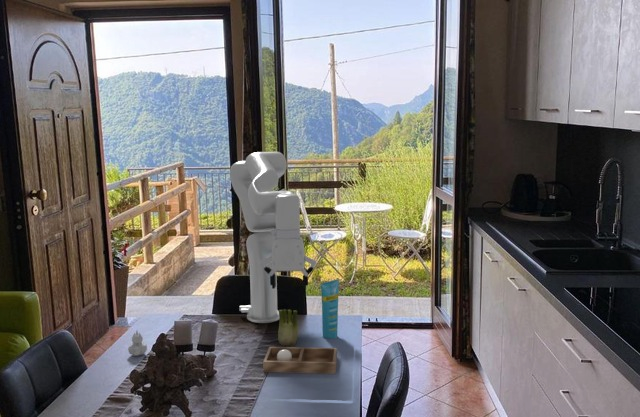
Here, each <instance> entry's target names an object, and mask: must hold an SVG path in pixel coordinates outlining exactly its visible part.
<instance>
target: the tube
mask: <svg viewBox="0 0 640 417" xmlns="http://www.w3.org/2000/svg"><path fill="white" fill-rule="evenodd" d="M339 287H340V278H337V279H333V280H331V281H326V282H321V283H320V290H321V315H322V317H321V320H322V321H321V322H322V325H321V326H322V338H323V339H331V340H333V339H334V340H335V339H337V338H338V325H339V322H338V317H339V290H340V289H339Z"/></svg>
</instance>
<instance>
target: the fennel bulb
mask: <svg viewBox="0 0 640 417" xmlns="http://www.w3.org/2000/svg"><path fill="white" fill-rule="evenodd" d="M278 311H279V320H278V321H279V323H278V331H277V338H278V339H277V340H278V343H279V344H280V345H281V346H282V347H294V346H296V344H297V341H298V335H299V328H298V310H294V309H293V311H292V309H279V310H278Z"/></svg>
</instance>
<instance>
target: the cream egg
mask: <svg viewBox="0 0 640 417" xmlns="http://www.w3.org/2000/svg"><path fill="white" fill-rule="evenodd" d="M277 360H278V361H291V360H292V354H291V352H290V351H289V350H287V349H282V350H280V351H279V352H278V354H277Z"/></svg>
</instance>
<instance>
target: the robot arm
mask: <svg viewBox="0 0 640 417" xmlns="http://www.w3.org/2000/svg"><path fill="white" fill-rule="evenodd" d="M287 167H288V166H287V159H286V157H285V155H284V154H283V153H282V152H280V151H257V152H252V153H250V154H249V155H248V156H246V158H245V160H239V161H236V162H235V163H233V164H232V165H231V167H230V168H229V170H230V171H229V178H230V183H231V185H232V189H233V191H234V193H235V194H236V195H237V198H238V200H239V202H240V206H241V210H242V215H243V219H244V223H245V226H246V228H247V230H248V231H249V232H252V234H250V235H248V237H247V238H246V242H245V243H246V244H245V245H246V246H245V247H246V252H247V256H248V263H249V264H248V265H249V280H250V281H249V282H250V288H249V289H250V304H248V305H239V308H238V309H239V312H241V313H243V314H244V313H246V314H247V315H246V319H247V320H248V321H249V322H251V323H256V324H257V323H258V324H269V323H274V322H277V321H279V310H278V289H277V288H278V287H277V286H278V283H277V280H278V278H277V272H301V274H303V275H302V289H304V290H305V289H306V288H307V286H308V285H309V275H310V274H311V273H312V272H313V271H314V269H315V267H316V265H317V261H316V260H314V259H313V258H311V257H309V256H307V255H306V252H305V245H304V239H303V237H301V213H300V211H301V210H300V209H301V207H300V196H299V195H297V194H296V193H294V192H293V191H290V190H274V189H275V188H276V187H277V185H278V183H279V179H280V178H281V177H282V176H283V175H285V173H286V170H287ZM306 262H307V263H309V264H310V267H308V268H306Z"/></svg>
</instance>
